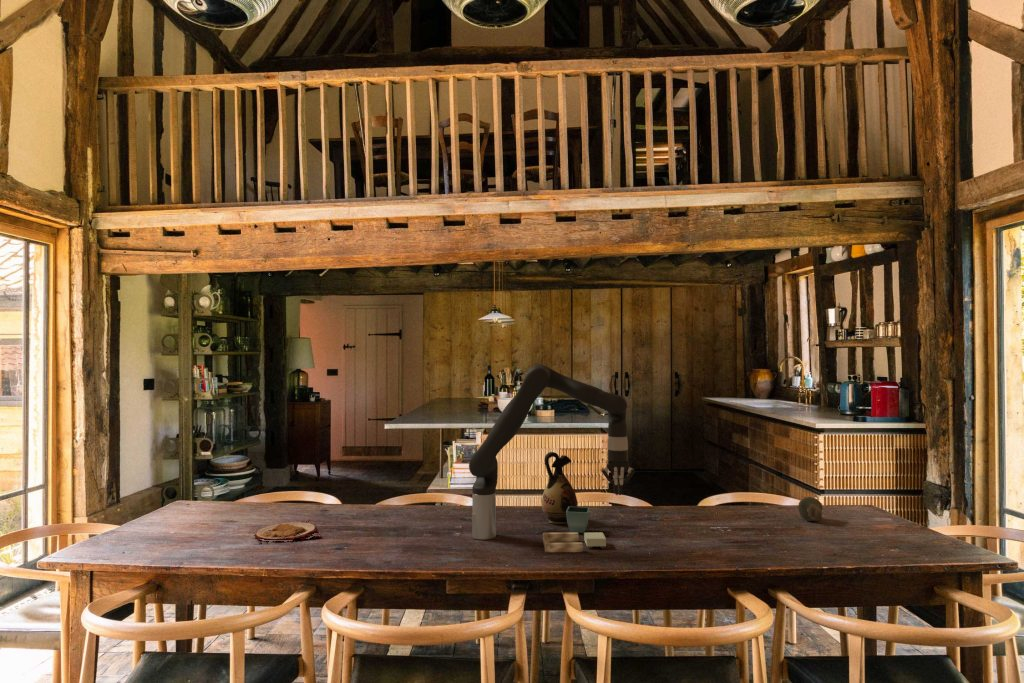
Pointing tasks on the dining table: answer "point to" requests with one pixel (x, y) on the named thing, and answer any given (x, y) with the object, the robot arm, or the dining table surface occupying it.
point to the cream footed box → (595, 540)
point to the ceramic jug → (557, 491)
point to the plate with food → (287, 531)
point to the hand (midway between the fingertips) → (618, 494)
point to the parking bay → (562, 547)
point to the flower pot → (577, 518)
